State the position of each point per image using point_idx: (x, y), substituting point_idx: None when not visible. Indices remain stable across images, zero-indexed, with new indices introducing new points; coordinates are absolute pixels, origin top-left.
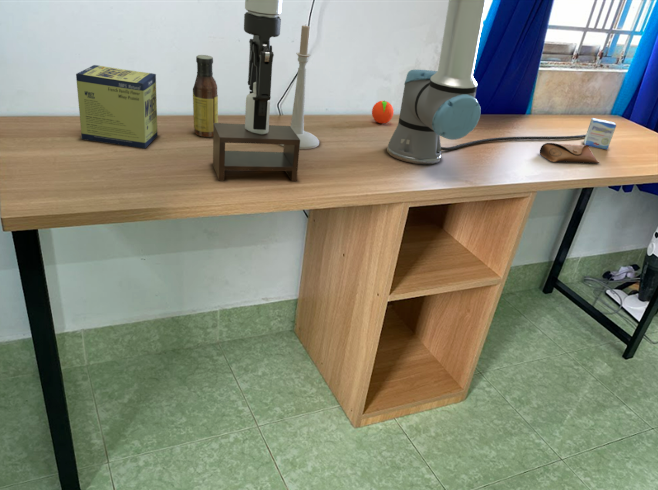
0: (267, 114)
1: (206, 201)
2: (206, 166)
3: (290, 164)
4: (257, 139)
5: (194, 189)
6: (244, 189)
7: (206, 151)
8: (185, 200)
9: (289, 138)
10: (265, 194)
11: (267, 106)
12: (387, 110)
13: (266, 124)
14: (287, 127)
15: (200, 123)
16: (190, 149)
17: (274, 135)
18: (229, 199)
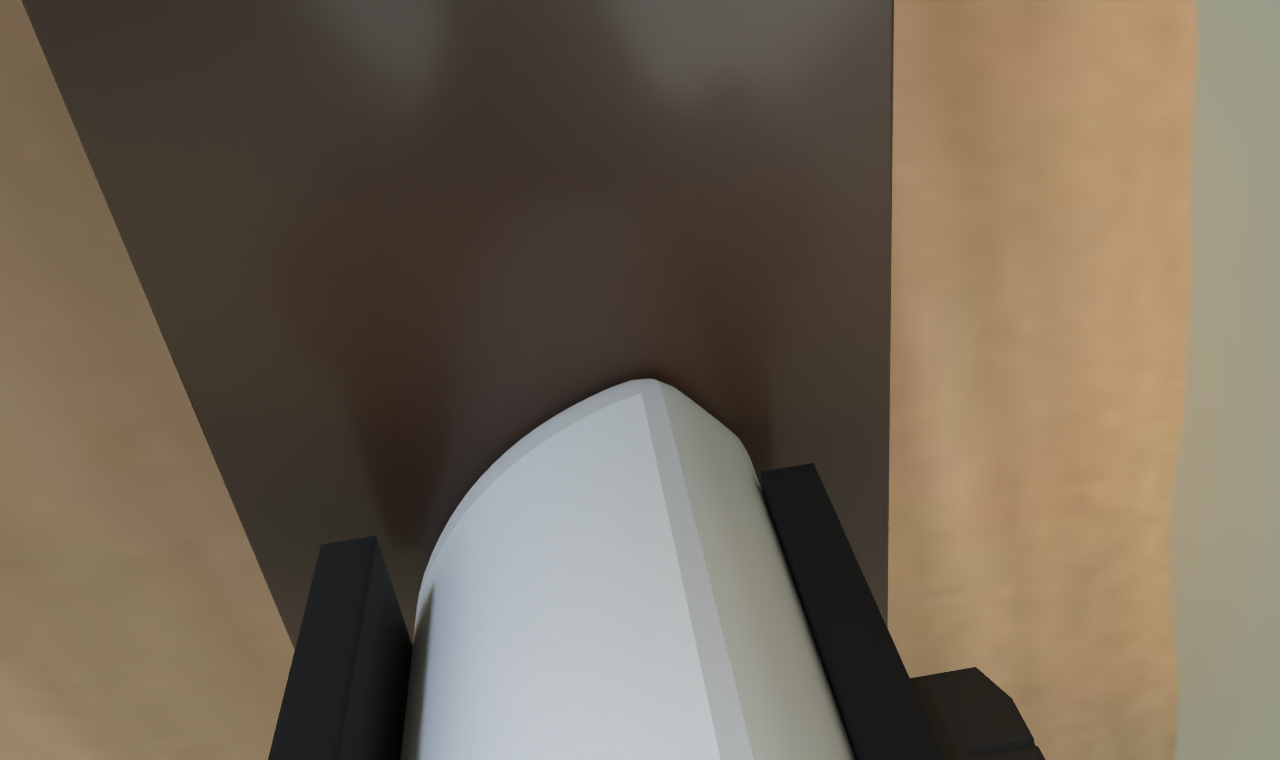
0: (773, 612)
1: (1132, 552)
2: None
3: None
4: (886, 488)
5: (934, 626)
6: (943, 335)
7: (118, 629)
8: (1100, 649)
9: (834, 33)
10: (1059, 170)
11: (820, 753)
12: None
13: (737, 494)
14: (141, 11)
15: None
16: (128, 724)
17: (713, 279)
18: (1122, 429)
